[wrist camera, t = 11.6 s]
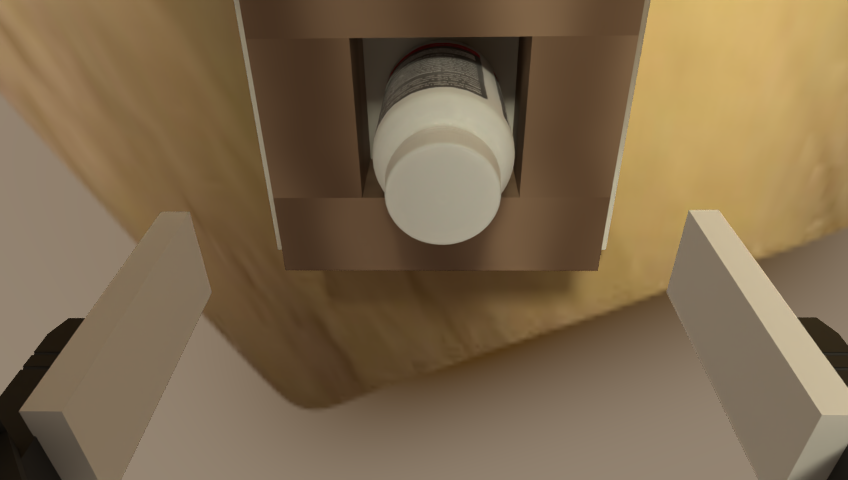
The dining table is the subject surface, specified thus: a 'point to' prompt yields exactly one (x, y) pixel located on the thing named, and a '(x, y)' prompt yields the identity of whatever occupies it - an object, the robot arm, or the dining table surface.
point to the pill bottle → (443, 143)
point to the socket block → (361, 104)
